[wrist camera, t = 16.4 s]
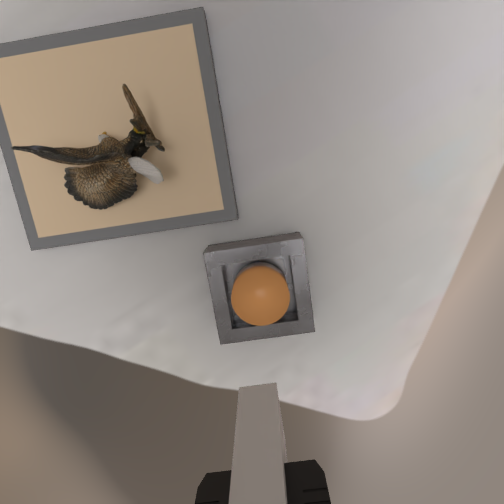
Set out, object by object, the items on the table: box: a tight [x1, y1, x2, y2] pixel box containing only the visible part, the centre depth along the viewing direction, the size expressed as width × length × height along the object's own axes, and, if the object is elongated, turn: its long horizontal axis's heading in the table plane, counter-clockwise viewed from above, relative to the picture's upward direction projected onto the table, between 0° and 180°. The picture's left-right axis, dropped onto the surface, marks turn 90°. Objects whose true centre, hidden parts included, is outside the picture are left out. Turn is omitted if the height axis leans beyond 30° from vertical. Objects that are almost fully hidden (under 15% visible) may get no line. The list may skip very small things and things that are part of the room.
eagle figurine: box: [10, 84, 165, 210], centre depth 27 cm, size 8×7×9 cm
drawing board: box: [0, 7, 238, 251], centre depth 30 cm, size 18×16×1 cm
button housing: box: [203, 232, 315, 344], centre depth 31 cm, size 8×8×3 cm
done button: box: [231, 262, 290, 326], centre depth 30 cm, size 5×5×2 cm
